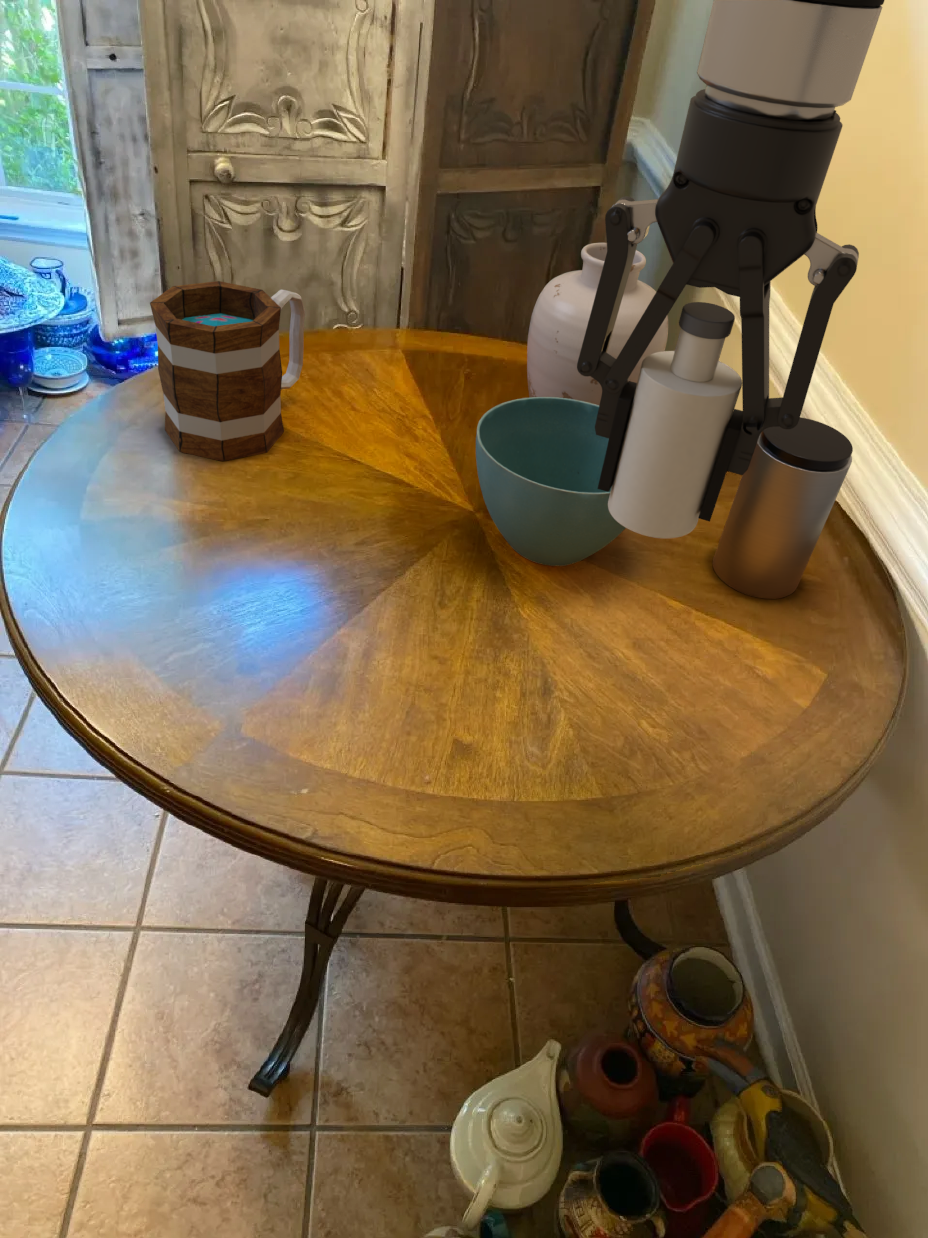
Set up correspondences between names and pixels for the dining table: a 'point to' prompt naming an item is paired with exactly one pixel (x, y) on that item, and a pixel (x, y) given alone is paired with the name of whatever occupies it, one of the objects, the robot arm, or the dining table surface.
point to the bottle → (676, 428)
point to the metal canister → (781, 508)
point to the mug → (225, 366)
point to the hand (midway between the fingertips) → (657, 494)
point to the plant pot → (545, 478)
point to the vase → (582, 328)
